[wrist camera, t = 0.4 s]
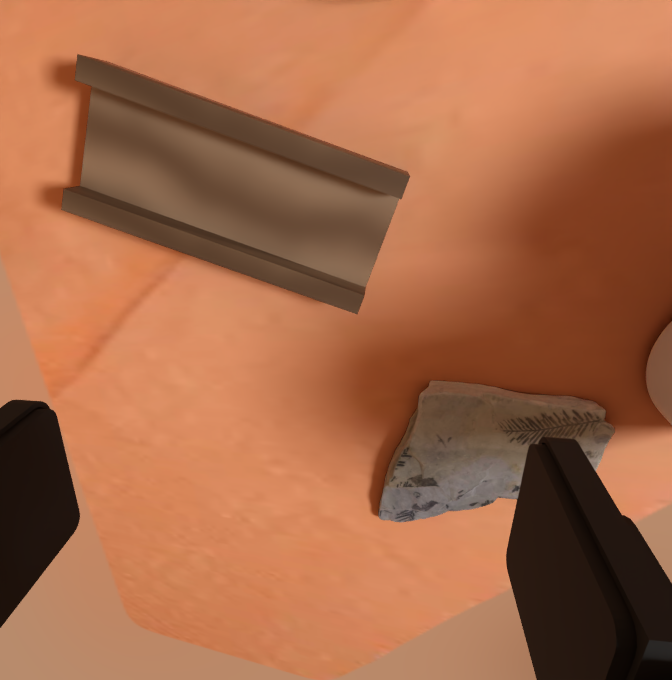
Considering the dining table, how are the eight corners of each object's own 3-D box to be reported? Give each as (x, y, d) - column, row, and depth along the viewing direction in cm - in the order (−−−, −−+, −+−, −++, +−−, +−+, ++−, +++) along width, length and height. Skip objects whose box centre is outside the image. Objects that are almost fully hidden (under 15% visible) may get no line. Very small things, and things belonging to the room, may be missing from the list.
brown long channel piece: (106, 61, 34) (77, 54, 31) (407, 172, 35) (410, 176, 32) (88, 203, 38) (61, 209, 35) (359, 299, 39) (357, 314, 36)
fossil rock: (611, 395, 41) (624, 410, 39) (564, 533, 47) (573, 553, 45) (398, 372, 42) (398, 385, 40) (378, 510, 48) (378, 528, 46)
